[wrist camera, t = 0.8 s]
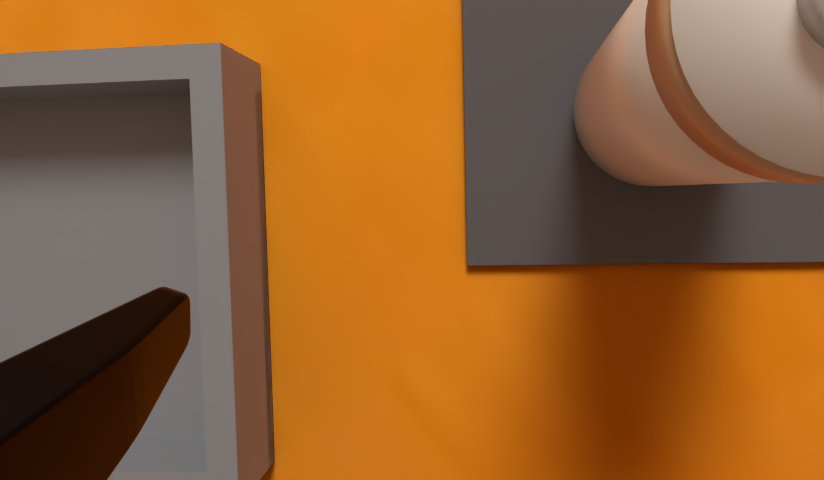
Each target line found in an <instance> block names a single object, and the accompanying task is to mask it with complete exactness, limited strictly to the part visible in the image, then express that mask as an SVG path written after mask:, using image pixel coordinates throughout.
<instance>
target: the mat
mask: <svg viewBox="0 0 824 480" xmlns="http://www.w3.org/2000/svg"><path fill="white" fill-rule="evenodd" d="M632 1H633V0H463V57H464V114H465V170H466V227H467V266H473V265H570V264H667V263H764V262H824V183H810V184H805V183H784V182H754V183H727V184H701V185H674V186H640V185H634V184H630V183H627V182H623V181H621V180H619V179H616V178H614V177H612V176H611V175H609V174H607V173H606V172H604V171H603V170H602V169H601V168H599V167H598V166H597V165H596V164H595V163H594V162H593V161H592V160H591V159H590V158H589V156H588V155H587V153H586V152H585V150H584V149H583V147H582V145H581V143H580V141H579V139H578V136H577V133H576V130H575V125H574V120H573V100H574V95H575V90H576V87H577V84H578V81H579V79H580V77H581V75H582V72H583V71H584V69H585V68H586V66H587V64H588V63H589V61H590V60H591V59H592V57H593V56H594V54H595V53H596V52H597V50H598V49H599V47H600V46H601V45H602V43H603V42H604V40H605V39H606V38H607V36H608V35H609V33H610V32H611V31H612V29H613V28H614V27H615V25H616V24H617V22H618V21H619V20H620V18H621V17H622V15H623V14H624V13H625V11H626V10H627V8H628V7H629V6H630V4H631V3H632Z"/></svg>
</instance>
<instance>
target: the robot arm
mask: <svg viewBox="0 0 824 480" xmlns="http://www.w3.org/2000/svg"><path fill="white" fill-rule="evenodd" d="M190 334H191V313H190V298H189V296H188V295H187V294H185V293H183V292H180V291H177V290H174V289H171V288H168V287H159V288H156V289H154V290H152V291H150V292H148V293H146V294H144V295H142V296H139V297H137V298H135V299H133V300H131V301H129V302H127V303H125V304H123V305H120V306H118V307H116V308H114V309H112V310H110V311H108V312H106V313H104V314H101V315H99V316H97V317H95V318H93V319H91V320H89V321H87V322H85V323H82V324H80V325H78V326H76V327H74V328H72V329H70V330H68V331H66V332H63V333H61V334H59V335H57V336H55V337H53V338H51V339H49V340H47V341H44V342H42V343H40V344H38V345H36V346H34V347H32V348H30V349H28V350H25V351H23V352H21V353H19V354H17V355H15V356H13V357H11V358H9V359H6V360H4V361H2V362H0V480H107V479H108V478H109V476H110V475H111V474H112V472H113V471H114V469H115V468H116V467H117V465H118V464H119V462H120V461H121V459H122V458H123V457H124V455H125V454H126V452H127V451H128V449H129V448H130V446H131V445H132V443H133V442H134V440H135V439H136V437H137V436H138V434H139V433H140V431H141V429H142V427H143V426H144V424H145V422H146V421H147V419H148V417H149V415H150V413H151V411H152V410H153V408H154V406H155V404H156V402H157V400H158V399H159V397H160V395H161V393H162V391H163V390H164V388H165V386H166V384H167V382H168V380H169V379H170V377H171V375H172V373H173V371H174V369H175V368H176V366H177V364H178V362H179V360H180V358H181V357H182V355H183V353H184V351H185V349H186V347H187V345H188V342H189V339H190Z"/></svg>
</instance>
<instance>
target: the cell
mask: <svg viewBox="0 0 824 480" xmlns="http://www.w3.org/2000/svg"><path fill="white" fill-rule="evenodd" d="M573 120H574V125H575V130H576V133H577V136H578V139H579V141H580V143H581V145H582V147H583V149H584V150H585V152H586V153H587V155H588V156H589V158H590V159H591V160H592V161H593V162H594V163H595V164H596V165H597V166H598V167H599V168H601V169H602V170H603V171H604V172H606V173H607V174H609V175H611V176H612V177H614V178H616V179H619V180H621V181H623V182H627V183H630V184H634V185H640V186H674V185H701V184H727V183H754V182H784V183H805V184H810V183H824V0H633V1H632V3H631V4H630V6H629V7H628V8H627V10H626V11H625V13H624V14H623V15H622V17H621V18H620V20H619V21H618V22H617V24H616V25H615V27H614V28H613V29H612V31H611V32H610V33H609V35H608V36H607V38H606V39H605V40H604V42H603V43H602V45H601V46H600V47H599V49H598V50H597V52H596V53H595V54H594V56H593V57H592V59H591V60H590V61H589V63H588V64H587V66H586V68H585V69H584V71H583V72H582V75H581V77H580V79H579V81H578V84H577V87H576V90H575V95H574V100H573Z"/></svg>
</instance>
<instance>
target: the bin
mask: <svg viewBox="0 0 824 480" xmlns="http://www.w3.org/2000/svg"><path fill="white" fill-rule="evenodd" d="M159 287H168V288H171V289H174V290H177V291H180V292H183V293H185V294H187V295H188V296H189V298H190V313H191V334H190V339H189V342H188V345H187V347H186V349H185V351H184V353H183V355H182V357H181V358H180V360H179V362H178V364H177V366H176V368H175V369H174V371H173V373H172V375H171V377H170V379H169V380H168V382H167V384H166V386H165V388H164V390H163V391H162V393H161V395H160V397H159V399H158V400H157V402H156V404H155V406H154V408H153V410H152V411H151V413H150V415H149V417H148V419H147V421H146V422H145V424H144V426H143V427H142V429H141V431H140V433H139V434H138V436H137V437H136V439H135V440H134V442H133V443H132V445H131V446H130V448H129V449H128V451H127V452H126V454H125V455H124V457H123V458H122V459H121V461H120V462H119V464H118V465H117V467H116V468H115V469H114V471H113V472H112V474H111V475H110V476H109V478H108V479H107V480H260V479H261V478H262V476H263V475H264V474H265V473H266V472H267V470H268V469H269V468H270V467H271V465H272V464H273V463H274V462H275V460H274V432H273V405H272V377H271V350H270V322H269V295H268V268H267V240H266V213H265V185H264V158H263V131H262V103H261V76H260V64H259V63H257V62H255V61H253V60H251V59H249V58H248V57H246V56H244V55H242V54H240V53H238V52H237V51H235V50H233V49H231V48H229V47H227V46H225V45H224V44H222V43H205V44H185V45H165V46H145V47H126V48H106V49H86V50H66V51H47V52H27V53H7V54H0V362H2V361H4V360H6V359H9V358H11V357H13V356H15V355H17V354H19V353H21V352H23V351H25V350H28V349H30V348H32V347H34V346H36V345H38V344H40V343H42V342H44V341H47V340H49V339H51V338H53V337H55V336H57V335H59V334H61V333H63V332H66V331H68V330H70V329H72V328H74V327H76V326H78V325H80V324H82V323H85V322H87V321H89V320H91V319H93V318H95V317H97V316H99V315H101V314H104V313H106V312H108V311H110V310H112V309H114V308H116V307H118V306H120V305H123V304H125V303H127V302H129V301H131V300H133V299H135V298H137V297H139V296H142V295H144V294H146V293H148V292H150V291H152V290H154V289H156V288H159Z"/></svg>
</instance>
